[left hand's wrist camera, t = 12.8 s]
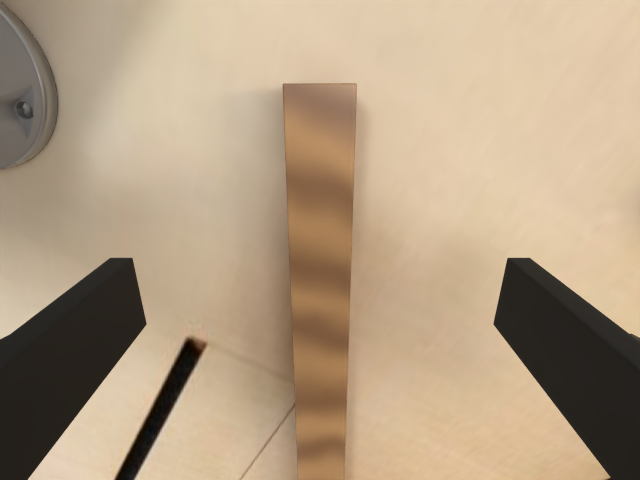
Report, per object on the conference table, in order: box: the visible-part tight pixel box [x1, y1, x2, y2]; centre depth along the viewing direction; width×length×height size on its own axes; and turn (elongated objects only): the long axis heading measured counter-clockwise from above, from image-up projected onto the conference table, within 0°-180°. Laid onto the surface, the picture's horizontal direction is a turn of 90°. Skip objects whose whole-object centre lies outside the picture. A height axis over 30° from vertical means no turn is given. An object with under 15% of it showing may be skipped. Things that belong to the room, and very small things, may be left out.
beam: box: [283, 83, 357, 480], centre depth 43 cm, size 82×5×8 cm, turn 0°
